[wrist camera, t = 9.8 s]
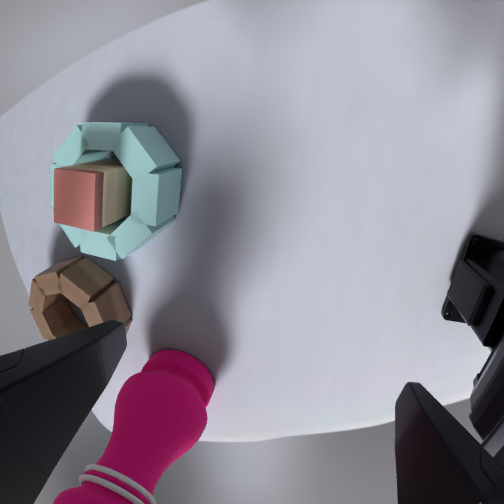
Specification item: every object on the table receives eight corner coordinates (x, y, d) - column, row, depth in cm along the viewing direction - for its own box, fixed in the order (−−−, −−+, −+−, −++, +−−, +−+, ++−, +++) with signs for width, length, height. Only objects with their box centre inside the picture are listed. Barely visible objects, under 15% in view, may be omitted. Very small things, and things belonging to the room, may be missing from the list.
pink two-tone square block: (147, 162, 21) (95, 173, 15) (144, 207, 22) (94, 231, 16) (110, 158, 21) (53, 168, 15) (107, 200, 22) (54, 222, 17)
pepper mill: (137, 337, 26) (-6, 521, 7) (217, 350, 25) (105, 591, 6) (150, 396, 28) (52, 561, 10) (222, 411, 27) (147, 607, 9)
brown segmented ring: (106, 249, 24) (79, 266, 20) (144, 343, 26) (125, 367, 23) (42, 266, 26) (17, 280, 22) (77, 345, 28) (57, 364, 25)
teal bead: (187, 126, 19) (164, 124, 16) (176, 251, 22) (154, 270, 19) (83, 121, 20) (52, 122, 17) (80, 230, 23) (52, 244, 20)
